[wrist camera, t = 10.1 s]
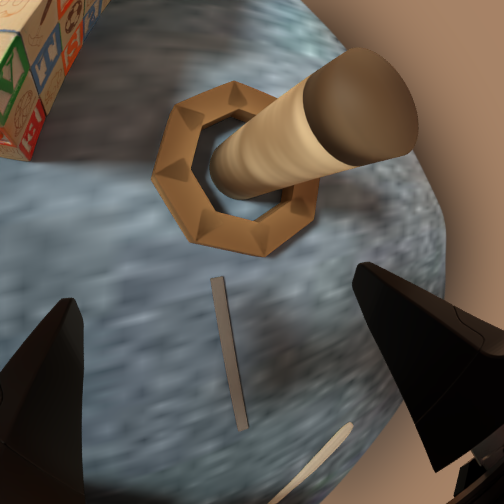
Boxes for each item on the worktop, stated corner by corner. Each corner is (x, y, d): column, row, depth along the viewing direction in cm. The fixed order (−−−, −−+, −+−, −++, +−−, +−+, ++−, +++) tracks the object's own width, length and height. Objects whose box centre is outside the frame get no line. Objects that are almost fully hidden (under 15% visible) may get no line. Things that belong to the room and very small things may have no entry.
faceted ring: (293, 264, 22) (305, 265, 21) (138, 231, 18) (140, 230, 16) (315, 127, 23) (326, 121, 22) (183, 75, 18) (188, 64, 17)
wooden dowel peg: (273, 193, 21) (428, 154, 10) (217, 205, 20) (360, 159, 8) (259, 136, 21) (398, 58, 10) (203, 143, 19) (322, 38, 8)
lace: (245, 424, 21) (248, 428, 21) (235, 427, 21) (238, 431, 21) (219, 275, 20) (222, 276, 20) (208, 277, 20) (210, 278, 20)
